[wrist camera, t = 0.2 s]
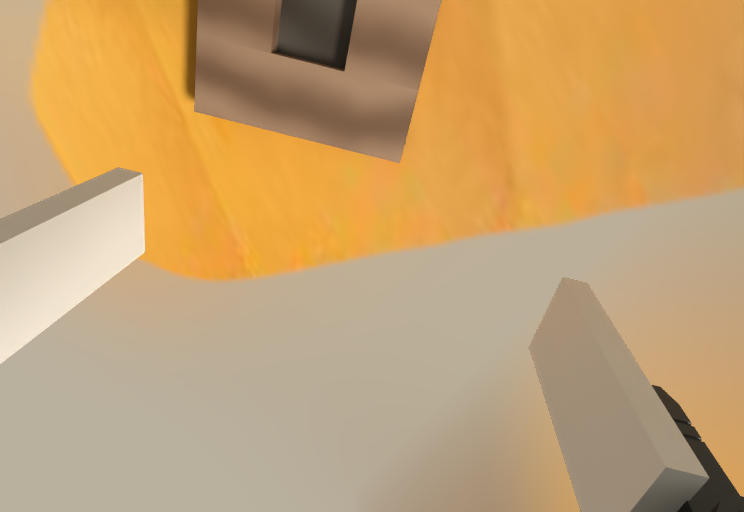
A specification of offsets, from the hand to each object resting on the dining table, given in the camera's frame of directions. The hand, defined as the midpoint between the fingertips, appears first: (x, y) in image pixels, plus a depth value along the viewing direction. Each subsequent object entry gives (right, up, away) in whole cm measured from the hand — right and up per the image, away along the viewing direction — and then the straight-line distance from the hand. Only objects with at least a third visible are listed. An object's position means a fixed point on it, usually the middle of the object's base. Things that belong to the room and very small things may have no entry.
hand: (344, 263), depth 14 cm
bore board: (-3, +19, +22) cm, 29 cm away
